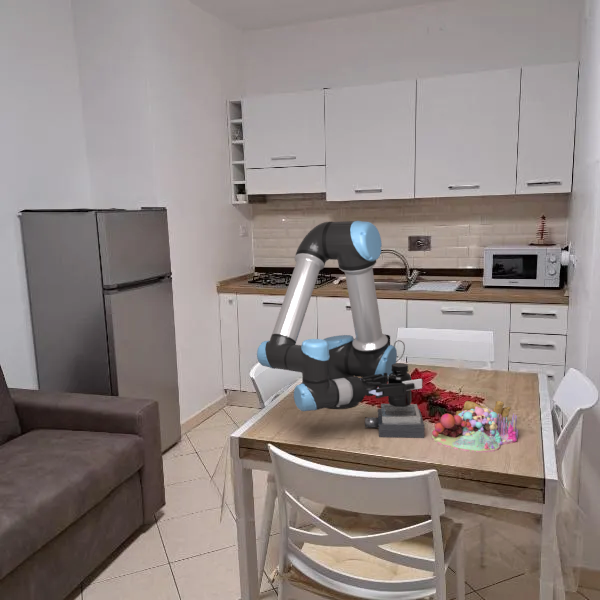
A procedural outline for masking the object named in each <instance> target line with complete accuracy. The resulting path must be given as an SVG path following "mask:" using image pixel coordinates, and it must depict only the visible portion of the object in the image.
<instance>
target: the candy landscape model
mask: <svg viewBox="0 0 600 600" xmlns="http://www.w3.org/2000/svg"><path fill="white" fill-rule="evenodd" d="M504 405H505V404H504V401H500V400H497V401H495V406H494V408H493V410H492V409H491V408H487V407H485V406H483V405H480V404H477V403H476V402H475V401H470V400H466V401H465V402H464V404H463V408H462V410H457V411H455V415H452V414H451V413H444V414H442V415H441V416H440V419H439V420H437V423H435V424H434V429H433V431H432V432H431V439H432V441H433V442H434V443H437V444H438V445H441V446H443V447H446V448H451V449H455V450H456V451H457V450H459V451H462V452H463V451H464V452H472V453H491V452H496V451H498V450H499V449H500V446H502V445H508V444H513V443H516V442H517V441H518V436H519V429H518V428H517V419H518V418H517V417H518V416H517V414H515V413H514V412H513V413H512V418H511V419H510V420H508V419H507V418H508V417H509V415H510V411H511V408H512V407H511V406H506V407H504Z"/></svg>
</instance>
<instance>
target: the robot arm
mask: <svg viewBox="0 0 600 600" xmlns="http://www.w3.org/2000/svg"><path fill="white" fill-rule="evenodd" d="M381 253H382V238H381V235H380V232H379V229H378V228H377V227H376V225H374V224H373V223H372V222H370V221H363V220H362V221H361V220H355V221H354V220H351V221H350V220H349V221H325V222H324V221H323V222H321V223H319V224H317V225H316V226H314V227H313V228H312V229H311V230H309V231H308V233H307V234H306V235H305V236H304V237H303V239H302V241H301V242H300V244H299V246H298V247H297V249H296V252H295V255H294V261H295V266H294V268H293V271H292V274H291V278H290V280H289V284H288V287H287V289H286V292H285V295H284V298H283V301H282V303H281V307H280V309H279V310H280V311H279V312H278V316H277V319H276V321H275V324H274V327H273V330H272V334H271V336H270V339H269V340H265V341H262V342H261V343H260V345H259V346H258V347H257V351H256V359H257V360H258V363H259V364H260V365H261V366H263V367H266V368H271V369H277V370H284V371H290V372H296V373H301V375H302V378H301V379H302V380H301V381H302V383H300V384H297V385H295V387H294V390H293V399H294V404H295V406H296V408H297V409H298V410H299V411H301V412H307V411H317V410H321V409H323V410H324V409H334V410H335V409H336V410H337V409H338V410H340V409H341V410H343V409H349V408H353V407H355V406H357V405H358V404H359V403H361V402H363V400H364V399H365V397H366V396H367V397H373V396H375V399H381V398H386V397H388V396H395V395H404V394H406V391H408V390H411V391H413V390H419V389H423V379H422V378H418V379H411V380H410V381H403V382H402V383H390V384H388V376H389V374H390V373H392V371H391V369H392V364H395V363H397V362H396V361H397V360H398V359H397V356H398V351H397V348H396V346H395V347H394V345H392V344H390V345H389V344H388V338H387V336H386V335H387V334H385V333H383V330H382V324H381V316H380V311H379V305H378V296H377V292H376V291H377V290H376V283H375V276H374V269H373V268H374V267H375V265H376V264H377V260H378V259H379V258H380V256H381ZM329 260H332V261H333V260H337V265H338V269H339V270H341V271H342V272H344V276H345V282H346V287H347V294H348V299H349V306H350V310H351V317H352V321H353V329H354V334H355V338H354V336H353V335H351V334H349V335H348V334H344V335H343V334H342V335H333V336H329V337H326V338H323V339H320V338H310V339H305V340H303V341H302V342H301V345H300V344H297V341H298V338H299V335H300V332H301V328H302V325H303V322H304V319H305V316H306V313H307V311H308V310H307V309H308V307H309V304H310V302H311V297H312V294H313V292H314V289H315V285H316V282H317V279H318V277H319V273H320V271H321V270H323V269H324V268H325V265H326V263H327V261H329Z"/></svg>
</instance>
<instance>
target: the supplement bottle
mask: <svg viewBox="0 0 600 600" xmlns="http://www.w3.org/2000/svg"><path fill="white" fill-rule="evenodd" d="M391 371H392V373H390V374H389V376H388V382H387V384H390V383H402V382H403V381H410V380H412V376H411V374H410V373H408V372H409V365H408V364H407V363H401V362H396V363H395V364H392V369H391ZM387 397H388V404H390V405H392V406H396V407H406V406H409V405H410V404H412V390H408V391H406V394H404V395H395V396H387Z"/></svg>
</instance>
